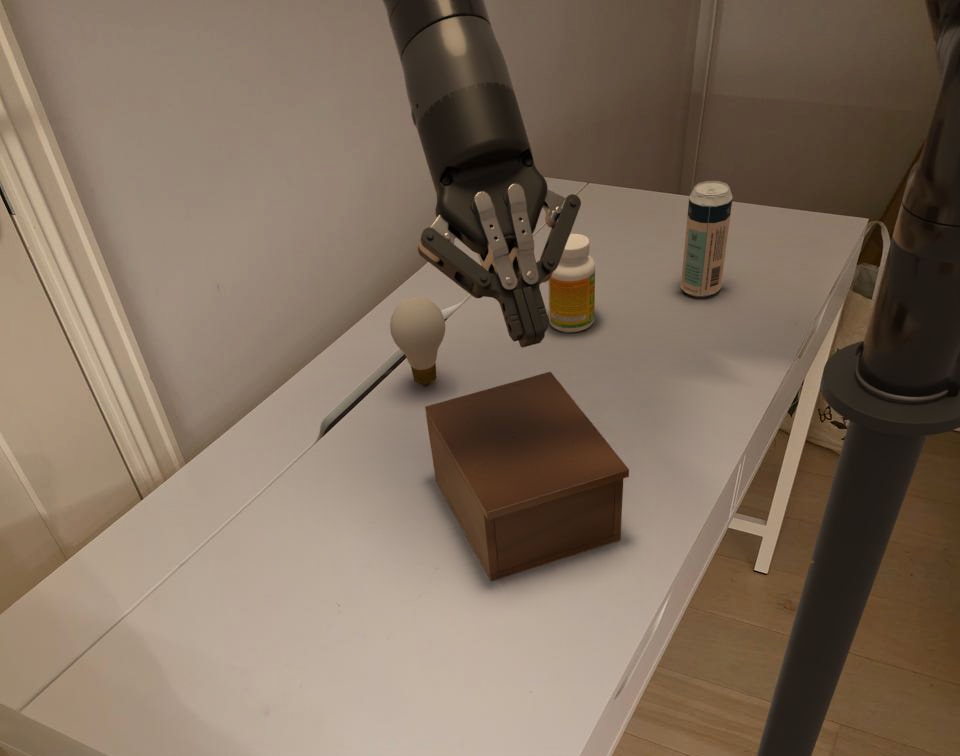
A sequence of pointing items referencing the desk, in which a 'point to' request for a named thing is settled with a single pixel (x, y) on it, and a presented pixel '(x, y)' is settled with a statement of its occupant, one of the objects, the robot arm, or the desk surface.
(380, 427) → the desk surface
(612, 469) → the lid
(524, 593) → the desk surface
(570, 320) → the supplement bottle
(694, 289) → the beer can
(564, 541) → the chest
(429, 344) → the light bulb
